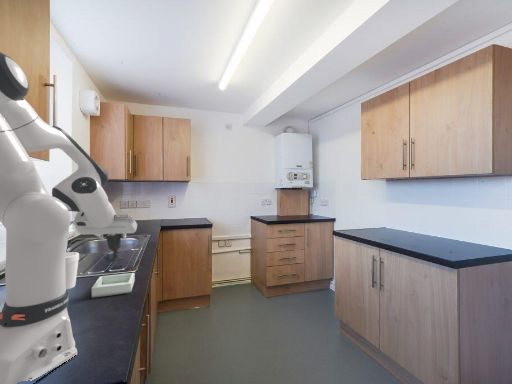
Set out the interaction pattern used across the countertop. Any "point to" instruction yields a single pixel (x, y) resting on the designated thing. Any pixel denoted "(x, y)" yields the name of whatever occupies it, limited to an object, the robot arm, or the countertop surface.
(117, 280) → the bin
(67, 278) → the foam cup
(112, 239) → the sundae
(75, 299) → the countertop surface
